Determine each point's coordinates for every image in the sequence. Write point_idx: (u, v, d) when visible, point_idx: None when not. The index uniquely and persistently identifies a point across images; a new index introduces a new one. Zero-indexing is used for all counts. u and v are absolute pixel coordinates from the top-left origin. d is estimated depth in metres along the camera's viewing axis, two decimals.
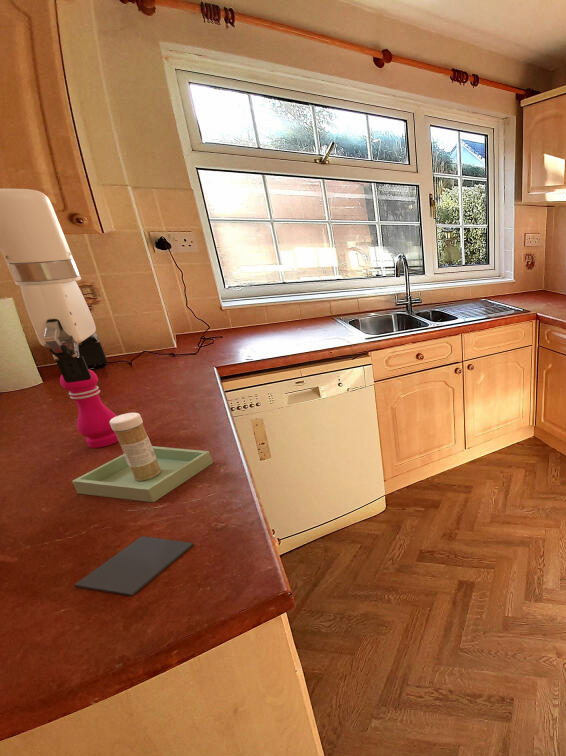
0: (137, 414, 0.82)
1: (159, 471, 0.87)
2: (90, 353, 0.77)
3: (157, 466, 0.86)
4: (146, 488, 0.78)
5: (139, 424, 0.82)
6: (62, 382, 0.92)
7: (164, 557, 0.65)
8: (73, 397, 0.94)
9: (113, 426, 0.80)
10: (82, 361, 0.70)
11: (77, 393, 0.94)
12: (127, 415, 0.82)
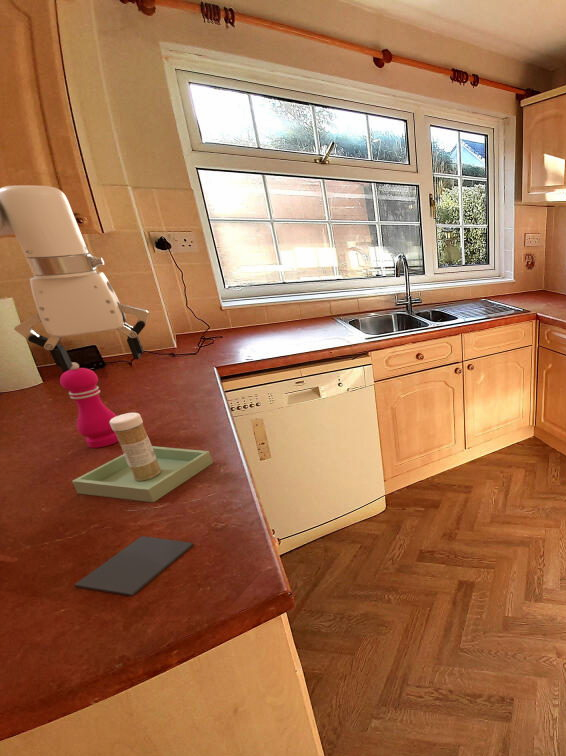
0: (137, 414, 0.82)
1: (159, 471, 0.87)
2: None
3: (157, 466, 0.86)
4: (146, 488, 0.78)
5: (139, 424, 0.82)
6: (62, 382, 0.92)
7: (164, 557, 0.65)
8: (73, 397, 0.94)
9: (113, 426, 0.80)
10: (55, 353, 0.72)
11: (77, 393, 0.94)
12: (127, 415, 0.82)
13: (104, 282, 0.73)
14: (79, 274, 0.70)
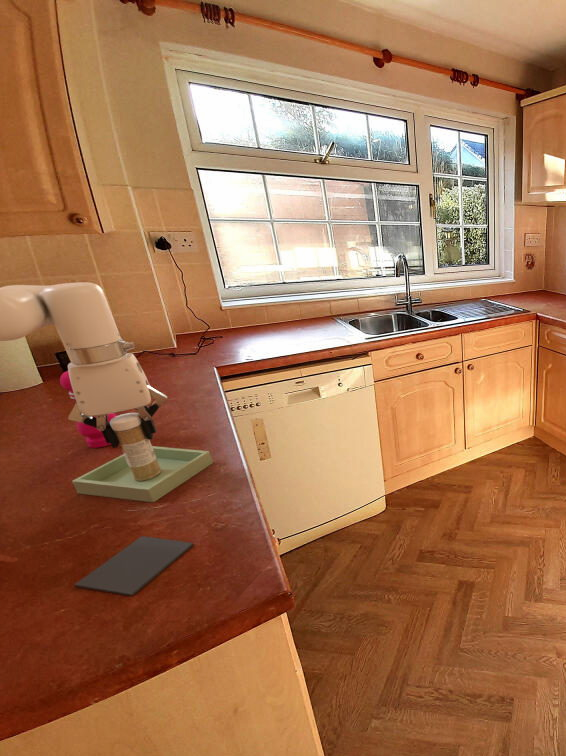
0: (137, 414, 0.82)
1: (159, 471, 0.87)
2: None
3: (157, 466, 0.86)
4: (146, 488, 0.78)
5: (139, 424, 0.82)
6: (62, 382, 0.92)
7: (164, 557, 0.65)
8: (73, 397, 0.94)
9: (113, 426, 0.80)
10: (106, 433, 0.79)
11: None
12: (127, 415, 0.82)
13: (134, 364, 0.79)
14: (113, 360, 0.75)
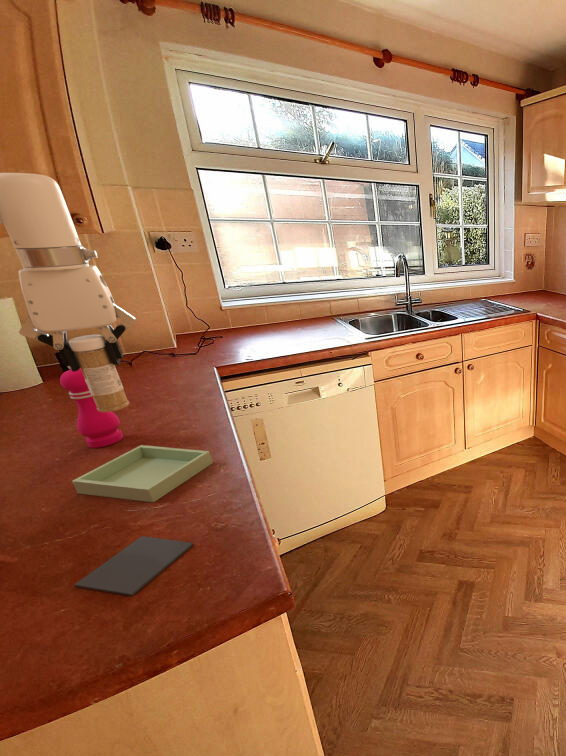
0: (101, 335, 0.74)
1: (126, 403, 0.78)
2: None
3: (124, 397, 0.78)
4: (146, 488, 0.78)
5: (103, 346, 0.73)
6: (62, 382, 0.92)
7: (164, 557, 0.65)
8: (73, 397, 0.94)
9: (72, 346, 0.71)
10: (65, 353, 0.71)
11: (77, 393, 0.94)
12: (89, 336, 0.73)
13: (97, 276, 0.70)
14: (71, 267, 0.67)
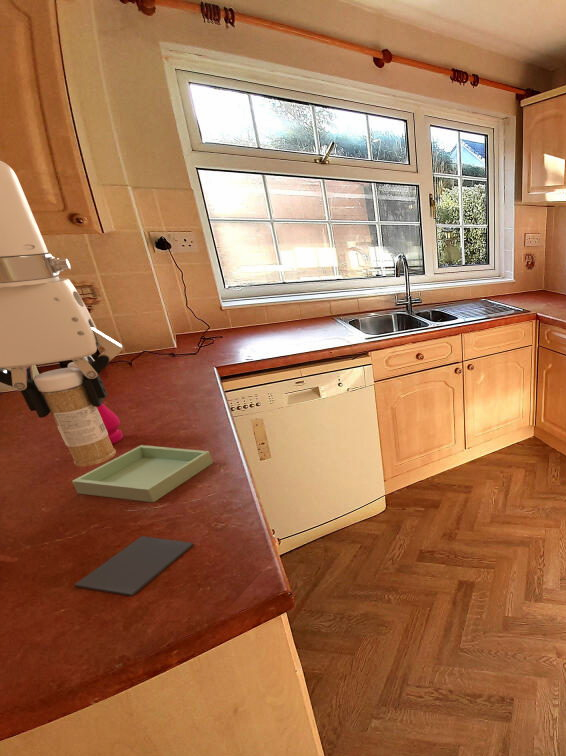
0: (77, 369, 0.57)
1: (112, 453, 0.61)
2: None
3: (109, 446, 0.61)
4: (146, 488, 0.78)
5: (79, 383, 0.56)
6: None
7: (164, 557, 0.65)
8: None
9: (38, 384, 0.54)
10: (28, 395, 0.54)
11: None
12: (61, 371, 0.56)
13: (70, 293, 0.53)
14: (33, 282, 0.50)
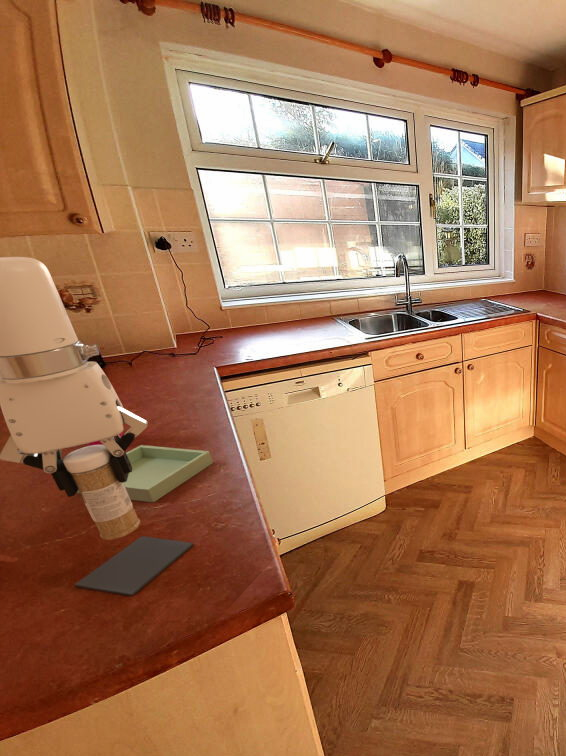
0: (104, 447, 0.58)
1: (137, 524, 0.62)
2: None
3: (134, 517, 0.62)
4: (146, 488, 0.78)
5: (107, 462, 0.58)
6: None
7: (164, 557, 0.65)
8: None
9: (68, 466, 0.55)
10: (58, 476, 0.55)
11: None
12: (89, 450, 0.58)
13: (98, 378, 0.55)
14: (64, 373, 0.51)
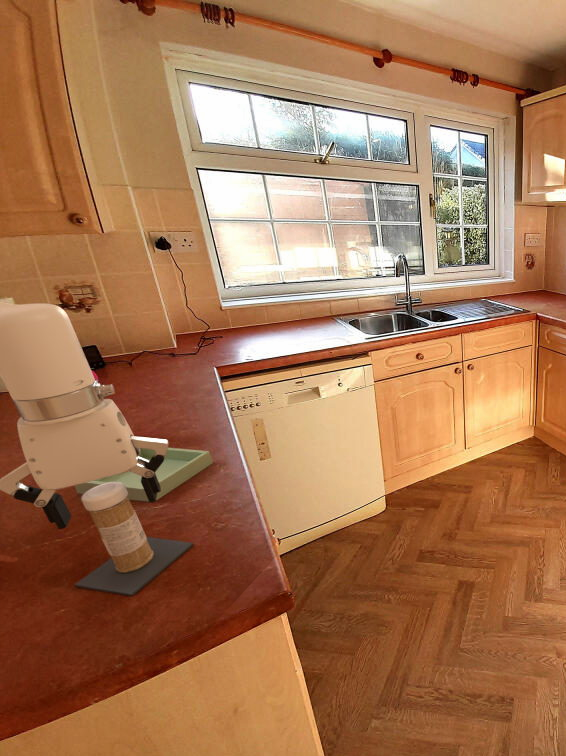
0: (120, 485, 0.61)
1: (150, 556, 0.65)
2: None
3: (148, 550, 0.64)
4: None
5: (123, 499, 0.60)
6: None
7: (164, 557, 0.65)
8: None
9: (86, 505, 0.58)
10: (49, 510, 0.56)
11: None
12: (106, 487, 0.60)
13: (114, 416, 0.57)
14: (82, 414, 0.53)
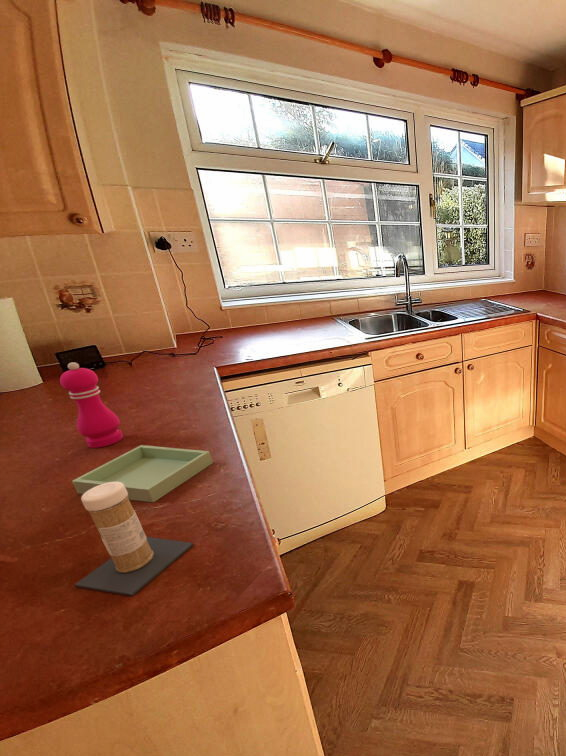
0: (120, 485, 0.61)
1: (150, 556, 0.65)
2: None
3: (148, 550, 0.64)
4: (146, 488, 0.78)
5: (122, 499, 0.60)
6: (62, 382, 0.92)
7: (164, 557, 0.65)
8: (73, 397, 0.94)
9: (86, 505, 0.58)
10: None
11: (77, 393, 0.94)
12: (106, 487, 0.60)
13: None
14: None
